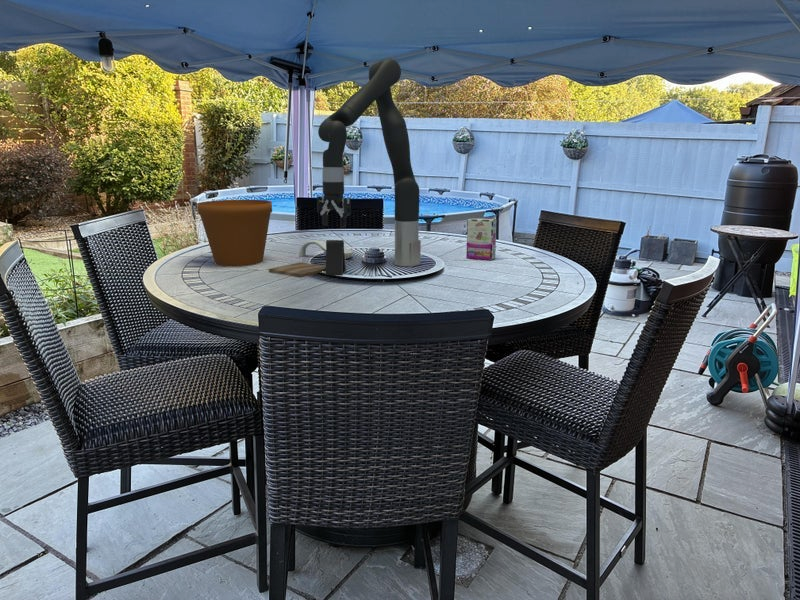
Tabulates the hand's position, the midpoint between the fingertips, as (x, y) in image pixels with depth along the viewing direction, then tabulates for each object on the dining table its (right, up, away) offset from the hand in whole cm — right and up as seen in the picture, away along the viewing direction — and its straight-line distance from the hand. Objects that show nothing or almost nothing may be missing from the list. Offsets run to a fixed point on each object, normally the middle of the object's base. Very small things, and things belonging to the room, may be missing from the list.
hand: (334, 226), depth 205 cm
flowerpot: (-41, -11, +25) cm, 49 cm away
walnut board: (-13, -15, +7) cm, 22 cm away
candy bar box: (+57, -9, +32) cm, 66 cm away
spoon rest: (-7, -9, +34) cm, 36 cm away
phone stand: (0, -17, +4) cm, 17 cm away
